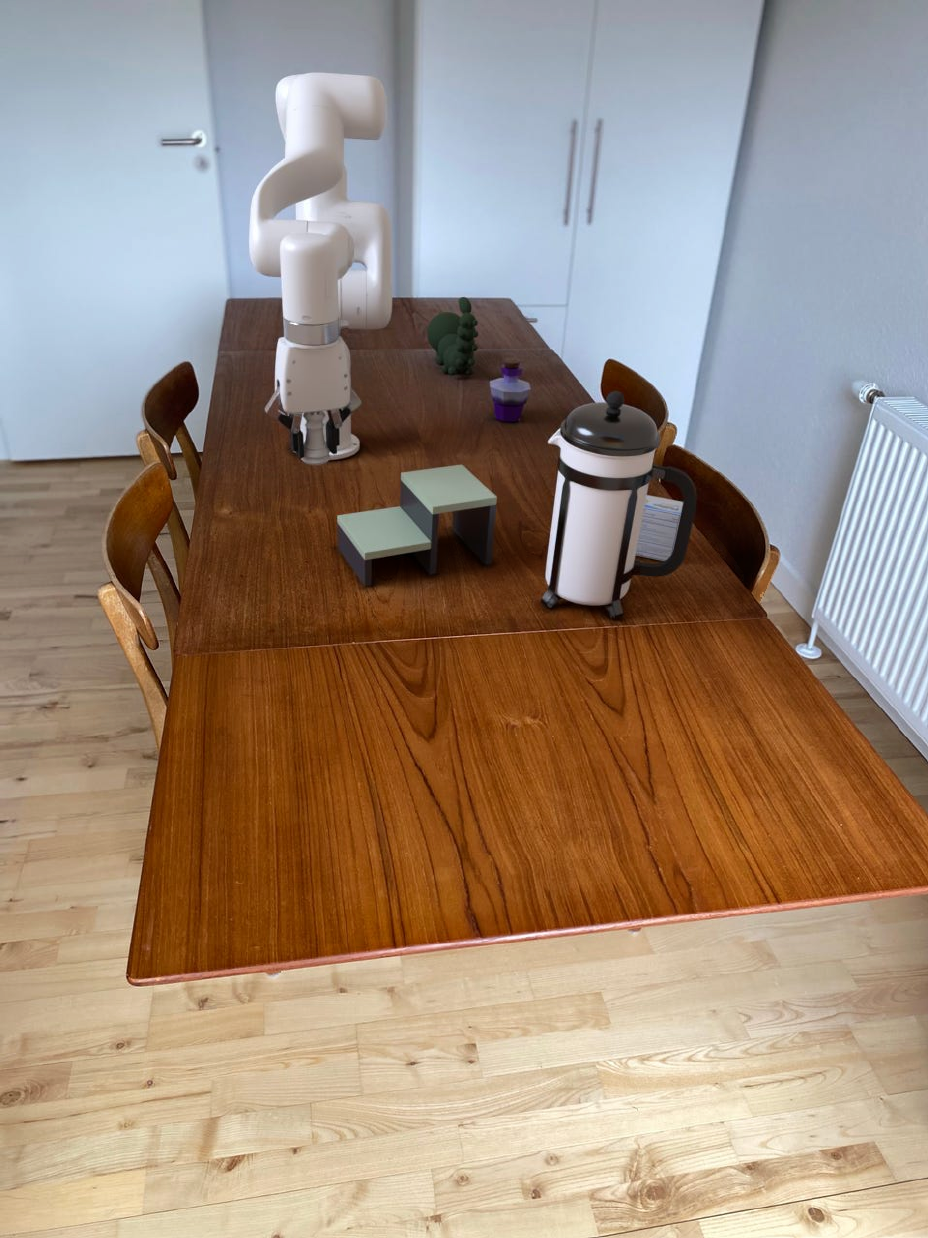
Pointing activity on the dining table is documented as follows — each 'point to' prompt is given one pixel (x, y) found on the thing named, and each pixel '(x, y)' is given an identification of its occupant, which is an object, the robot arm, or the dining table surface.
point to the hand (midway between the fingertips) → (315, 451)
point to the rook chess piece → (315, 440)
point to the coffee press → (607, 505)
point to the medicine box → (658, 528)
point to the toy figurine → (454, 339)
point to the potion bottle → (509, 392)
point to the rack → (421, 520)
